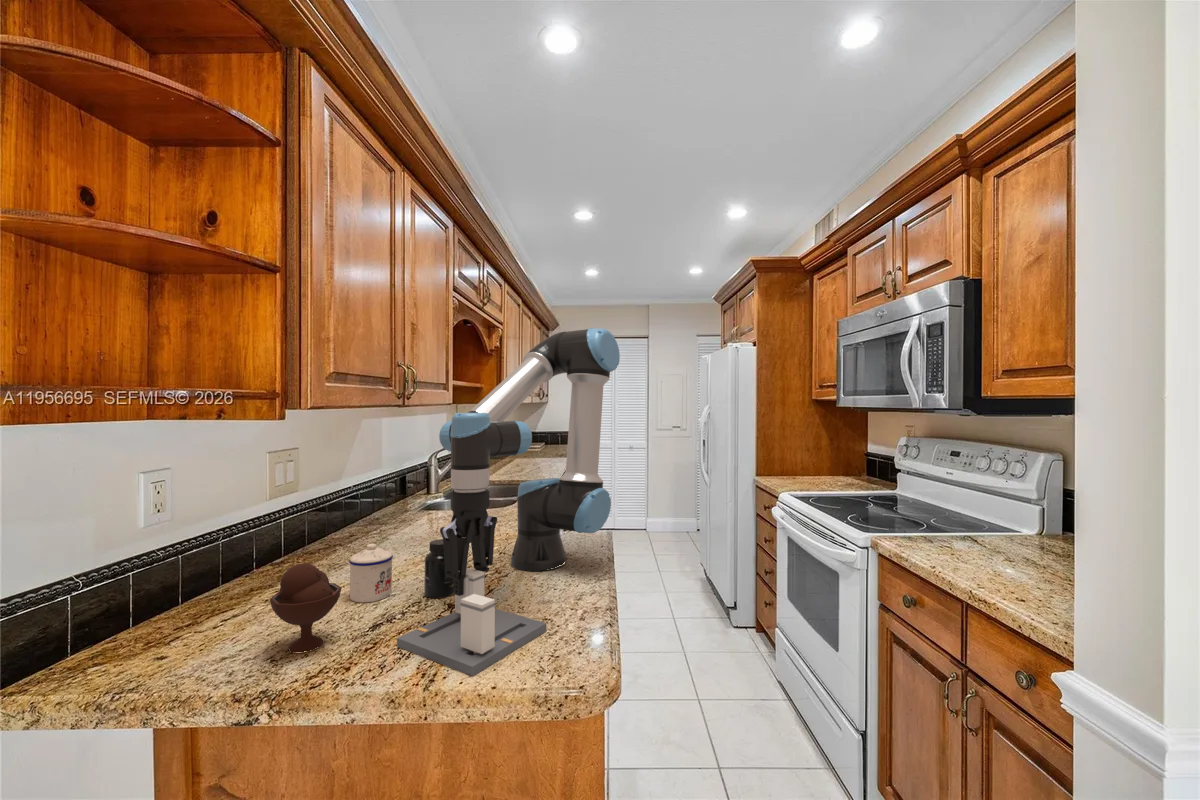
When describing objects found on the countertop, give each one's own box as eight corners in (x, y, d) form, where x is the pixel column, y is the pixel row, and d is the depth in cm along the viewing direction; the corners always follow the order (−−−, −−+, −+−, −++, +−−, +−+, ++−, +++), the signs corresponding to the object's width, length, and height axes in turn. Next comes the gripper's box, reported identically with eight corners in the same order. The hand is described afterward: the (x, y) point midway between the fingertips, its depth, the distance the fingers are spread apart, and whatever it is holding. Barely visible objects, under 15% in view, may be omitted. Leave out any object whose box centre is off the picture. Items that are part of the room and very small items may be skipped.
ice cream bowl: (342, 651, 87) (343, 565, 88) (266, 667, 82) (267, 575, 82) (340, 628, 96) (340, 550, 97) (271, 641, 91) (272, 559, 91)
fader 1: (466, 611, 102) (466, 567, 102) (484, 617, 99) (484, 571, 99) (454, 617, 99) (455, 571, 99) (472, 622, 96) (473, 576, 97)
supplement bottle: (417, 597, 112) (418, 543, 113) (436, 586, 119) (437, 536, 119) (443, 600, 110) (443, 546, 110) (461, 590, 117) (461, 539, 117)
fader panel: (475, 610, 105) (475, 602, 105) (546, 631, 95) (546, 622, 95) (396, 646, 89) (396, 637, 89) (472, 676, 79) (472, 666, 79)
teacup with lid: (381, 603, 109) (382, 550, 109) (340, 603, 109) (341, 550, 109) (404, 584, 121) (404, 536, 121) (366, 584, 121) (367, 536, 121)
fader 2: (473, 645, 87) (473, 593, 87) (495, 652, 85) (495, 599, 85) (460, 652, 85) (460, 599, 85) (481, 660, 82) (481, 605, 82)
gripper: (485, 482, 108) (485, 590, 108) (424, 493, 95) (423, 617, 94) (511, 485, 104) (511, 597, 104) (451, 497, 91) (450, 626, 90)
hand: (469, 606), depth 99 cm, fingers closed on fader 1, 3 cm apart
